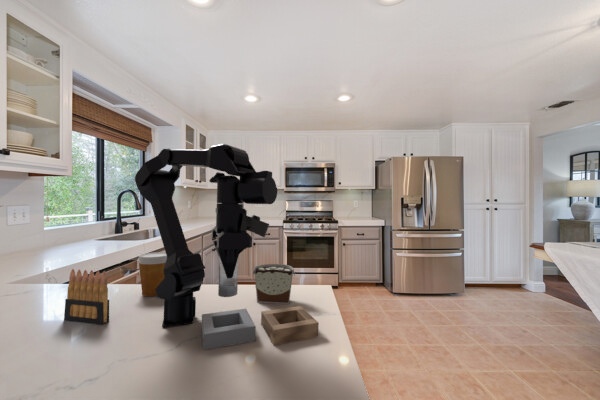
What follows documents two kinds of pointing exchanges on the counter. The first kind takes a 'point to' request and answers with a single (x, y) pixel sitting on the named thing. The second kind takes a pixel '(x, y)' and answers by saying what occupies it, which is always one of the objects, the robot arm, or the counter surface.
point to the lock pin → (227, 282)
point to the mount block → (288, 325)
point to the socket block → (227, 328)
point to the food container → (273, 283)
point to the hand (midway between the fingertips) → (228, 275)
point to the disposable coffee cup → (151, 271)
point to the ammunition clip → (87, 298)
